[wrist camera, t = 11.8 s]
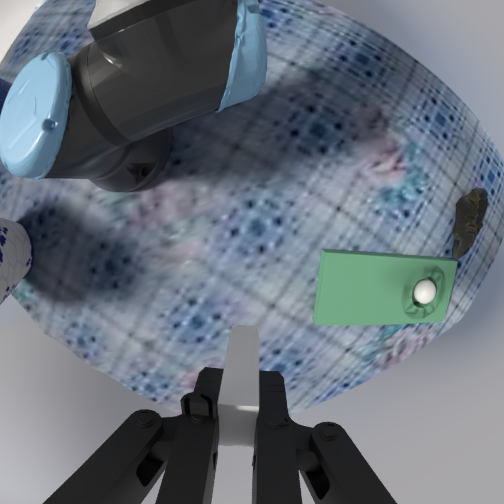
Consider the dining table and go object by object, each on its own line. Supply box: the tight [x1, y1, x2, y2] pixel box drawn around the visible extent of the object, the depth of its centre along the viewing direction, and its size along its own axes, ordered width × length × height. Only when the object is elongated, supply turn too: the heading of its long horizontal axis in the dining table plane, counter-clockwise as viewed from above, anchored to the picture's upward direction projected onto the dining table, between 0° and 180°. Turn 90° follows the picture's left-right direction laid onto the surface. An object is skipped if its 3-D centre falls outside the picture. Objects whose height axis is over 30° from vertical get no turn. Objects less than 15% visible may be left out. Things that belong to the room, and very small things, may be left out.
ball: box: [414, 279, 436, 304], centre depth 37 cm, size 4×4×4 cm
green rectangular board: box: [313, 249, 458, 325], centre depth 38 cm, size 25×11×2 cm, turn 87°
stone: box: [452, 188, 488, 259], centre depth 35 cm, size 7×13×5 cm, turn 163°
